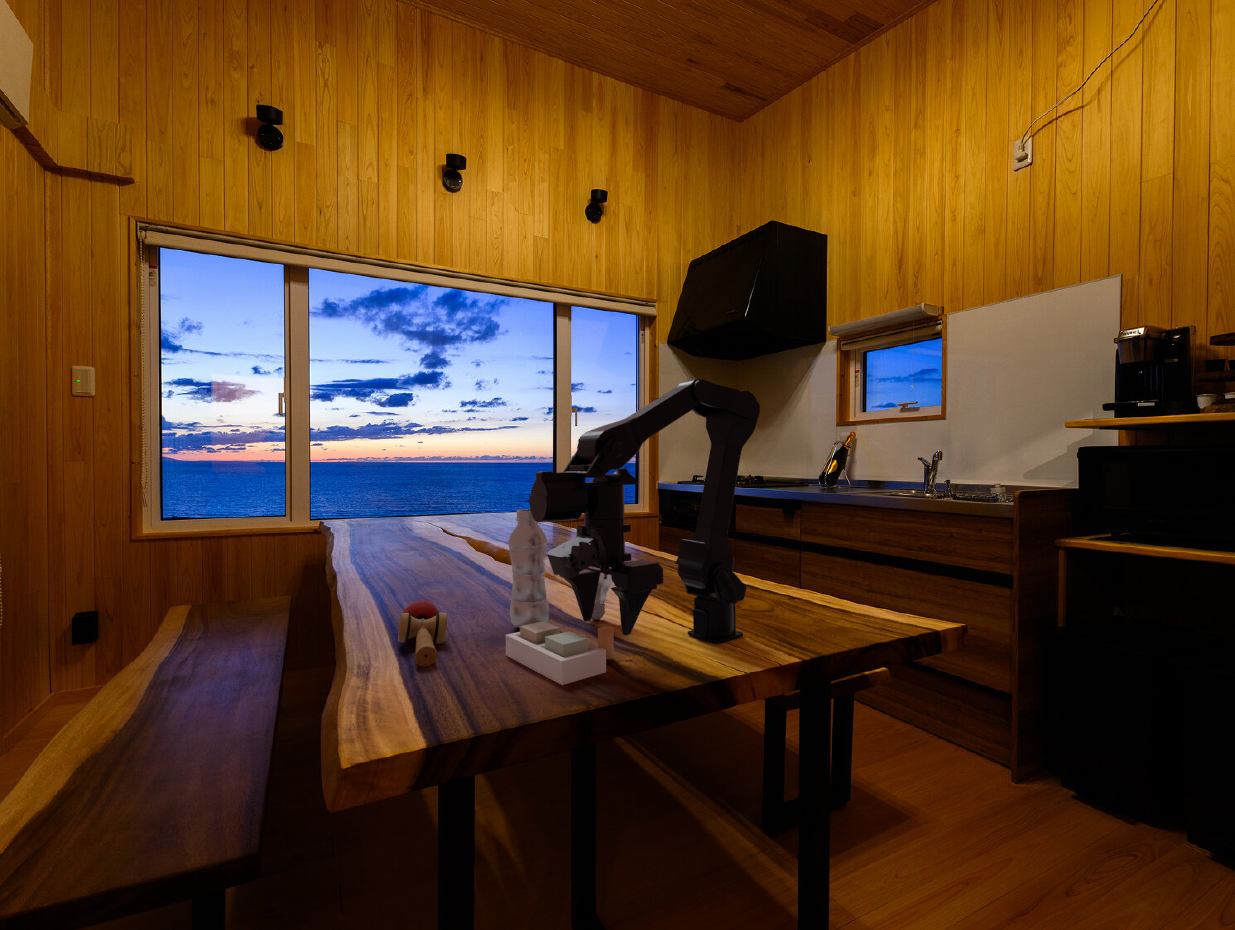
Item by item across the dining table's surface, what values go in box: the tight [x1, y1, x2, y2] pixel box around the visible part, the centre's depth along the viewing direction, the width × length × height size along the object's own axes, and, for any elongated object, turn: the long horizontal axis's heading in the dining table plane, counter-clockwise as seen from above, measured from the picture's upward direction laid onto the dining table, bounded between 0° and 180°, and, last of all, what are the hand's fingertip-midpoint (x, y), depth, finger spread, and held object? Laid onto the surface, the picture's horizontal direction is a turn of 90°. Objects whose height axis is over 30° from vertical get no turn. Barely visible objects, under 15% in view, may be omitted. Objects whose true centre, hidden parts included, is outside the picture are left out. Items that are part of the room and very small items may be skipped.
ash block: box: [519, 621, 561, 645], centre depth 85 cm, size 4×4×4 cm
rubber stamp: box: [545, 626, 615, 660], centre depth 82 cm, size 10×4×4 cm, turn 128°
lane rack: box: [505, 631, 607, 686], centre depth 83 cm, size 7×15×3 cm, turn 38°
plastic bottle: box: [507, 508, 550, 629], centre depth 101 cm, size 6×7×20 cm
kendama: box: [397, 600, 448, 667], centre depth 91 cm, size 8×6×18 cm
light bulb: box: [591, 567, 614, 622], centre depth 104 cm, size 7×7×12 cm
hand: (606, 627), depth 84 cm, fingers open, 9 cm apart
